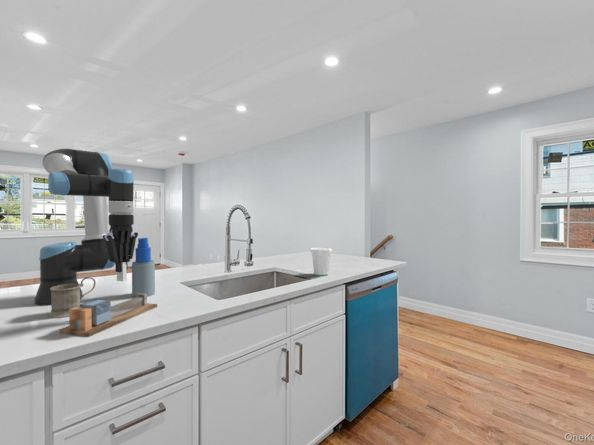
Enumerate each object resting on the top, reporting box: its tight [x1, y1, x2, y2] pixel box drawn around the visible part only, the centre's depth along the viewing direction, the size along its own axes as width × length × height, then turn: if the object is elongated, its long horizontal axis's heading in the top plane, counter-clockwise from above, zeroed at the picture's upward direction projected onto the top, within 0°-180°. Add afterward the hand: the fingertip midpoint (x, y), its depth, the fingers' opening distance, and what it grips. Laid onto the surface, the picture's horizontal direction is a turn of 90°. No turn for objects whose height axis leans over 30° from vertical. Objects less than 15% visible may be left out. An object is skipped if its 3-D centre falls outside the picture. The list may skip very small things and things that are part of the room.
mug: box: [47, 275, 96, 319], centre depth 106 cm, size 14×10×12 cm
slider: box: [80, 299, 111, 325], centre depth 93 cm, size 6×5×6 cm
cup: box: [310, 247, 333, 277], centre depth 172 cm, size 12×12×15 cm
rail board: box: [59, 293, 158, 337], centre depth 99 cm, size 11×28×7 cm, turn 166°
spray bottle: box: [131, 237, 156, 298], centre depth 128 cm, size 9×9×25 cm
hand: (121, 280), depth 103 cm, fingers closed
